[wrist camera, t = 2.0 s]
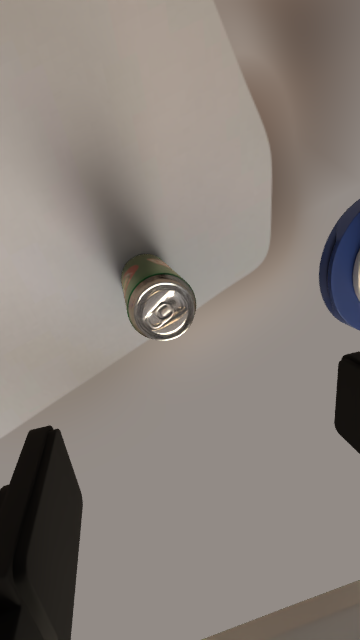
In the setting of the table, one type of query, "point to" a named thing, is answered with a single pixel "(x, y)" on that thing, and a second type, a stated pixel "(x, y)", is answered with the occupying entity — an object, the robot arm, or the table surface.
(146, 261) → the soda can
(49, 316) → the table surface
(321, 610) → the robot arm
